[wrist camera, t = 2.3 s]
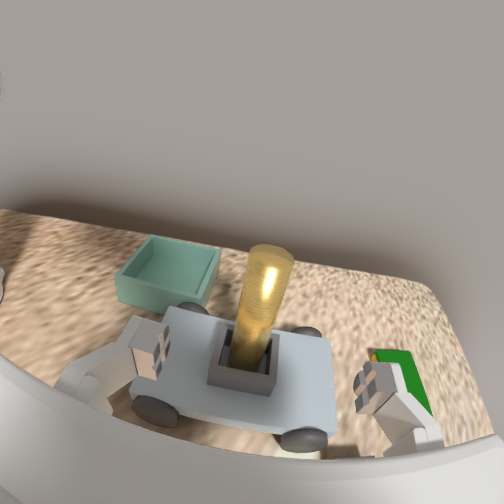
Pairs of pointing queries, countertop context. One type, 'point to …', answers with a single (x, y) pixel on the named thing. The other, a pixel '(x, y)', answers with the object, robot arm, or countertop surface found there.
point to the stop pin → (259, 305)
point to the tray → (167, 274)
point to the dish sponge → (405, 373)
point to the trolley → (242, 382)
